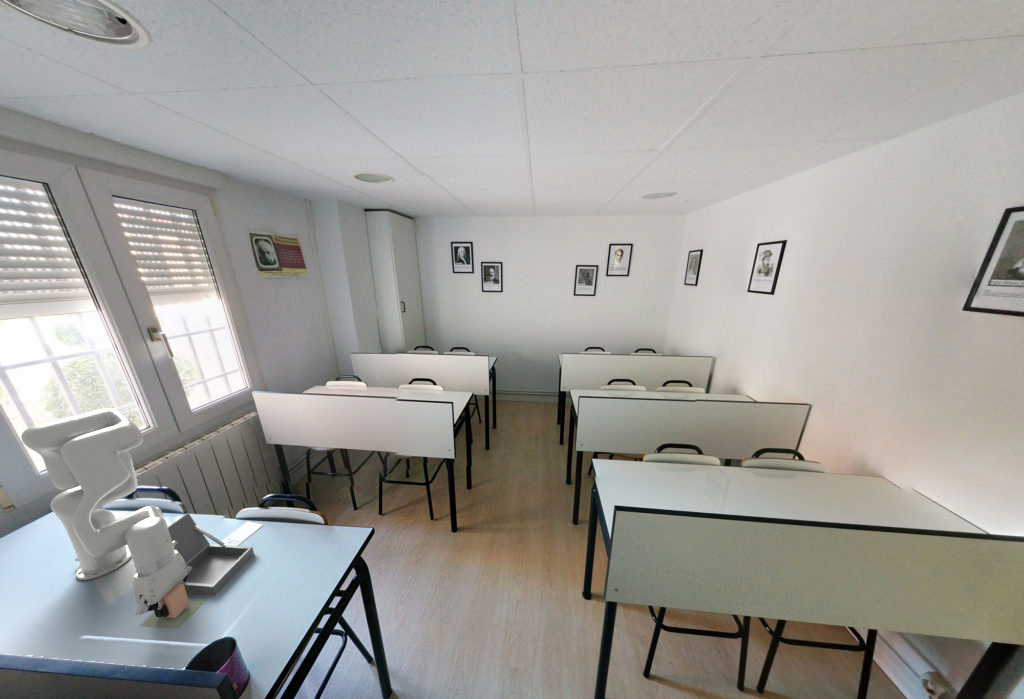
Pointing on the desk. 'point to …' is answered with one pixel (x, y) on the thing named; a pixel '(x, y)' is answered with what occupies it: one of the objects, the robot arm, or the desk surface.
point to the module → (176, 600)
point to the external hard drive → (242, 533)
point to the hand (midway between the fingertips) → (172, 606)
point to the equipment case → (206, 557)
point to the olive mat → (174, 622)
